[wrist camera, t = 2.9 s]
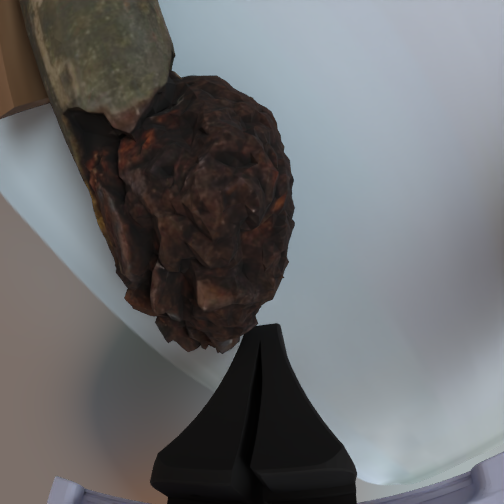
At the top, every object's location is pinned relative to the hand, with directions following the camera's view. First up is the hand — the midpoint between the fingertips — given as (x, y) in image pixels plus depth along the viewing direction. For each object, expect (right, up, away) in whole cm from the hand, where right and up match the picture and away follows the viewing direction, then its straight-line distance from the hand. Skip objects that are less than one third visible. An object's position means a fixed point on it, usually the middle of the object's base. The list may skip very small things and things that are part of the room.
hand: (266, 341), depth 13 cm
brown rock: (-4, +9, -2) cm, 10 cm away
